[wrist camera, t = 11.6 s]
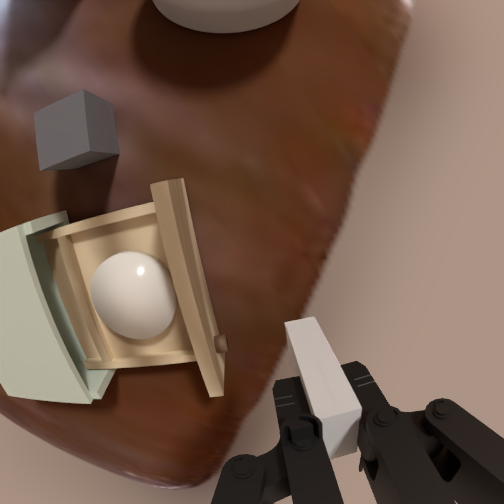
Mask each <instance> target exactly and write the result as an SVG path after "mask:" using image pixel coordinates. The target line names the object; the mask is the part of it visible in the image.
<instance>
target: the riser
mask: <svg viewBox="0 0 504 504" xmlns="http://www.w3.org/2000/svg"><path fill="white" fill-rule="evenodd" d="M34 117H35V131H36V142H37V151H38V160H39V167H40V171H45V170H64V169H77V168H79V167H82V166H85V165H88V164H91V163H94V162H97V161H99V160H103V159H106V158H109V157H112V156H115V155H118V154H119V148H118V142H117V135H116V128H115V120H114V113H113V104H111V103H109V102H107V101H105V100H104V99H102V98H100V97H98V96H96V95H94V94H92V93H90V92H88V91H86V90H84V89H83V90H81V91H79V92H76V93H74V94H72V95H70V96H68V97H65V98H63V99H61V100H59V101H57V102H55V103H53V104H51V105H49V106H47V107H45V108H43V109H41V110H39V111H37V112H35V113H34Z"/></svg>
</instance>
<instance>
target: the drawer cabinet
mask: <svg viewBox="0 0 504 504" xmlns="http://www.w3.org/2000/svg"><path fill="white" fill-rule="evenodd" d="M68 224H69V220H68V215H67V211H66V210H64V211H61V212H58V213H54V214H51V215H48V216H45V217H42V218H38V219H35V220H32V221H29V222H27V223H24V224H21V225H18V226H16V227H13V228H10V229H8V230H5V231H3V232H0V383H1V385H2V386H3V388H4V390H5V391H6V393H7V394H8V396H14V397H21V398H28V399H36V400H44V401H54V402H66V403H81V404H91V403H92V401H93V399H102V397H103V395H104V393H105V390H106V388H107V386H108V384H109V382H110V380H111V378H112V376H113V375H114V373H115V371H116V369H117V368H111V369H86V368H85V366H84V364H83V363H84V362H85V360H86V359H87V358H86V356H85V354H84V352H83V349H82V347H81V345H80V343H79V341H78V339H77V336H76V334H75V332H74V329H73V327H72V325H71V322H70V320H69V317H68V315H67V312H66V310H65V307H64V305H63V302H62V299H61V297H60V294H59V291H58V288H57V285H56V283H55V280H54V277H53V273H52V270H51V267H50V264H49V261H48V257H47V254H46V250H45V247H44V243H43V242H41V243H37V240H36V236H35V235H38V234H40V233H43V232H45V231H49V230H52V229H55V228H58V227H61V226H65V225H68Z"/></svg>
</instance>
